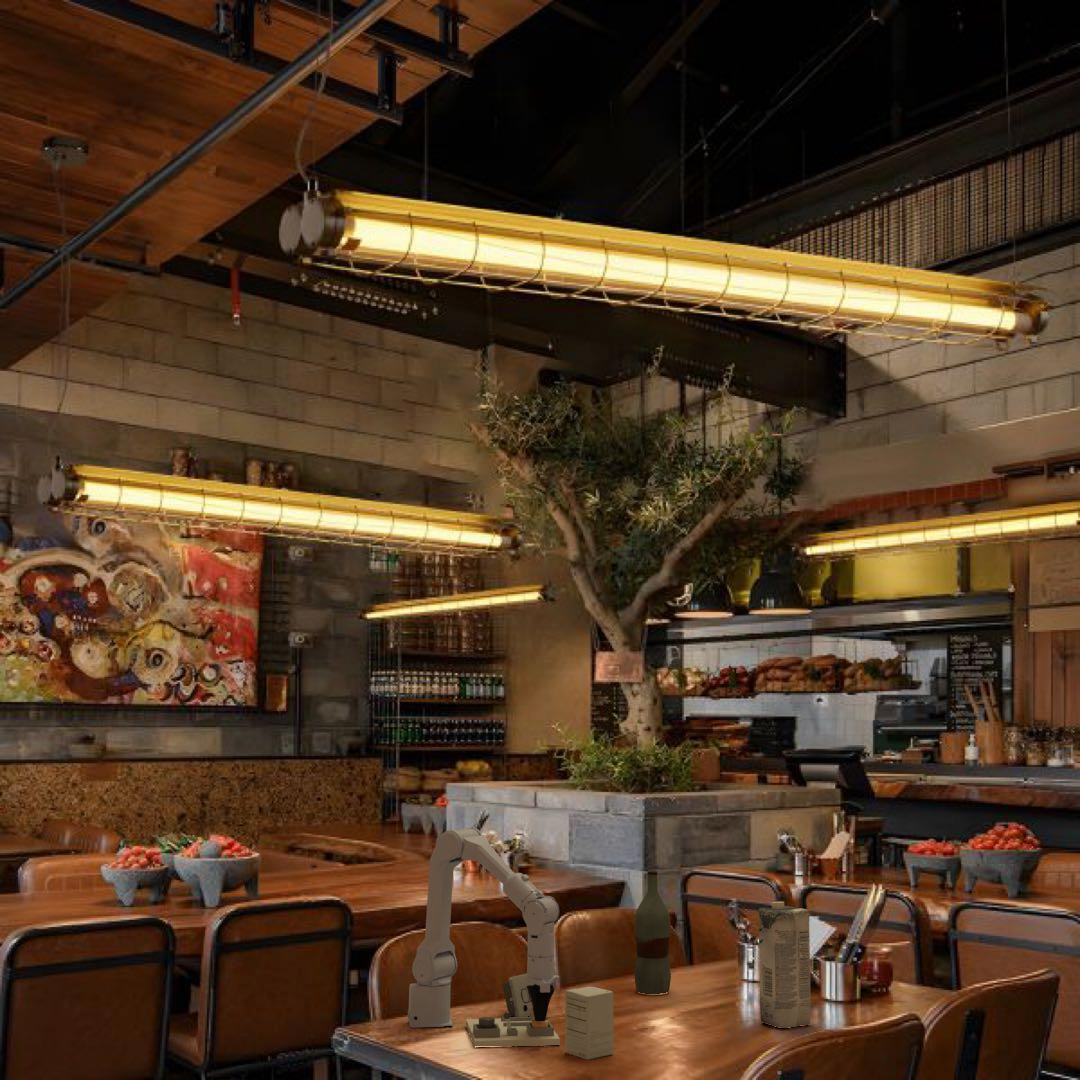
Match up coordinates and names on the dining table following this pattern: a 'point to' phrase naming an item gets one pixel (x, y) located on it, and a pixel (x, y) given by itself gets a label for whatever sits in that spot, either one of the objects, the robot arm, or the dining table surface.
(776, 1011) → the juice carton
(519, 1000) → the electrical switch
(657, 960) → the bottle
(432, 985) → the robot arm
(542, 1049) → the dining table surface
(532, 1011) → the brass slider
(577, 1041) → the supplement box
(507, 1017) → the toggle lever
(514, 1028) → the control panel
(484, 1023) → the black button
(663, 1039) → the dining table surface
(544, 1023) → the orange button
